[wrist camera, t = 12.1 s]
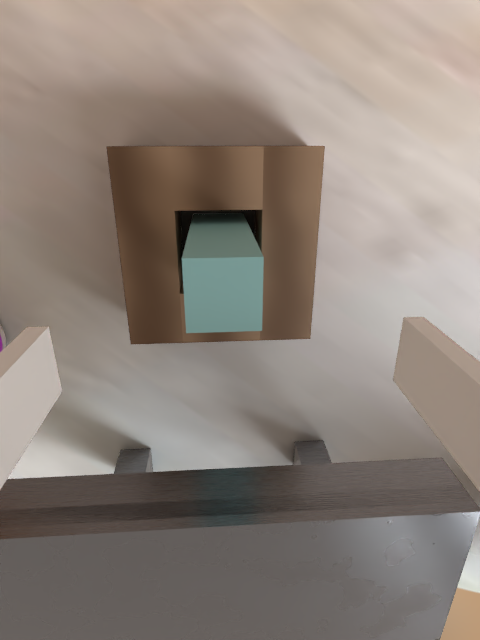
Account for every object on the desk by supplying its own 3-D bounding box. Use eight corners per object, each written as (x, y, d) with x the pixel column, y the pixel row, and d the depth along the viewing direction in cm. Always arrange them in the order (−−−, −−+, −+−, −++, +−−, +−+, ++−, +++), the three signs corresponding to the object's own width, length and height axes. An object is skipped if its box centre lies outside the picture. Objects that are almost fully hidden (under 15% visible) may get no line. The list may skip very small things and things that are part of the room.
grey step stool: (349, 332, 38) (481, 511, 19) (334, 465, 44) (421, 694, 26) (87, 340, 36) (-42, 541, 18) (110, 476, 42) (33, 727, 24)
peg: (243, 213, 33) (263, 257, 20) (243, 261, 34) (262, 330, 21) (193, 213, 32) (181, 258, 19) (195, 262, 34) (186, 333, 21)
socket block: (307, 146, 31) (324, 146, 26) (297, 314, 36) (310, 338, 32) (122, 146, 30) (106, 146, 25) (141, 318, 36) (130, 344, 31)
